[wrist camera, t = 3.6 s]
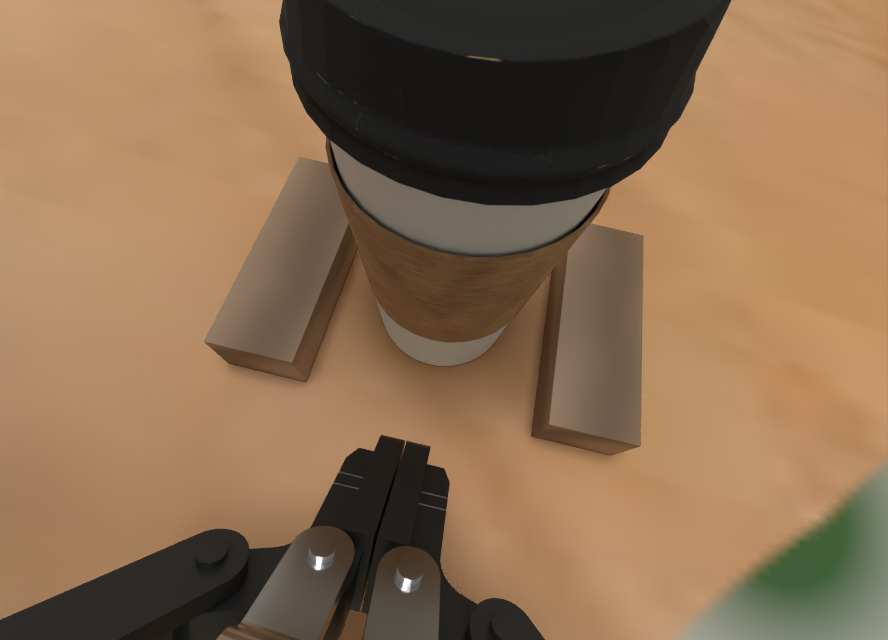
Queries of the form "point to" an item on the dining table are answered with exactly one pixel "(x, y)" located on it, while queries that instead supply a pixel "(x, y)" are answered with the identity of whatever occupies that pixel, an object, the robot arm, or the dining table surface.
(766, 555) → the dining table surface
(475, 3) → the coffee cup
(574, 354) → the clamp blocks
